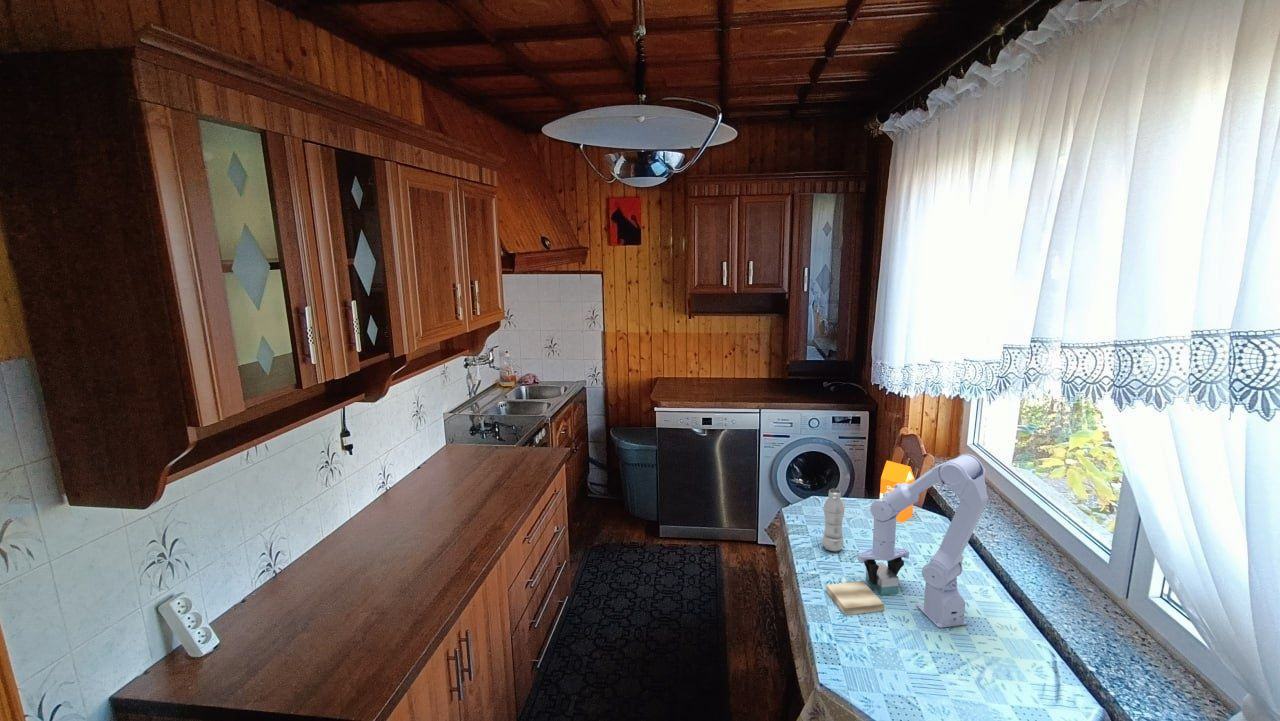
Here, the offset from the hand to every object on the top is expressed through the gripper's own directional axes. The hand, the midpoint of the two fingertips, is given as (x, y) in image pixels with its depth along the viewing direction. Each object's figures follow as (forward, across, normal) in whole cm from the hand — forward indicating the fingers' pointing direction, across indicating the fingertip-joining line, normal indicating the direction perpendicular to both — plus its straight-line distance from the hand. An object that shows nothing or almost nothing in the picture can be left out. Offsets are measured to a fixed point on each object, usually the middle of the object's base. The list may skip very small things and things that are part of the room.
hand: (881, 581), depth 159 cm
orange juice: (+2, -29, -40) cm, 49 cm away
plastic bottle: (+2, +4, -22) cm, 22 cm away
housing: (+1, 0, 0) cm, 1 cm away
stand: (+1, +11, +5) cm, 12 cm away
